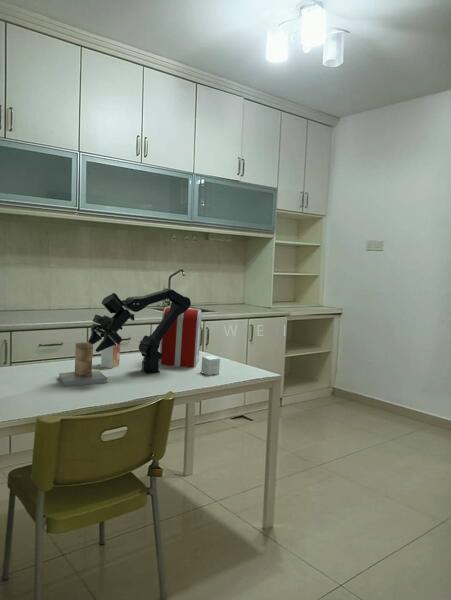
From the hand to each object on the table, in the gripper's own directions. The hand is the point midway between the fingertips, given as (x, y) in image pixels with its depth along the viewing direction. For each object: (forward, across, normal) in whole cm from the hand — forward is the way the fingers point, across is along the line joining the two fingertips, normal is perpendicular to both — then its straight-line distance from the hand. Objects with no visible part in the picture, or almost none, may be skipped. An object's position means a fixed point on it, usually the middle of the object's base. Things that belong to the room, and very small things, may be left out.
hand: (91, 349), depth 185 cm
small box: (-3, -16, +21) cm, 27 cm away
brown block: (+10, 0, +5) cm, 11 cm away
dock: (+11, 0, +7) cm, 13 cm away
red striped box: (-26, -9, +44) cm, 52 cm away
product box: (-27, +14, +45) cm, 55 cm away
